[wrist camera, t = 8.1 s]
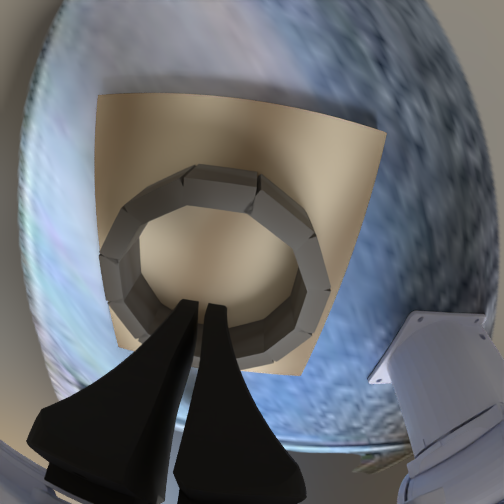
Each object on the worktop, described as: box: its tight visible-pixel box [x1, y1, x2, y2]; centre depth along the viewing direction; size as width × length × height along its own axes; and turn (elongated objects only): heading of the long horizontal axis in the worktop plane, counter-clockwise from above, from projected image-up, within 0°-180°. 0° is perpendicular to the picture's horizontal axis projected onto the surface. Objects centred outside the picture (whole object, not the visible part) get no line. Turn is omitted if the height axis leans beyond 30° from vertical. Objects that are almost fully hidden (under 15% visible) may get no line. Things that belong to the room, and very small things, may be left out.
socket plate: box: [95, 93, 387, 376], centre depth 13 cm, size 13×16×4 cm
